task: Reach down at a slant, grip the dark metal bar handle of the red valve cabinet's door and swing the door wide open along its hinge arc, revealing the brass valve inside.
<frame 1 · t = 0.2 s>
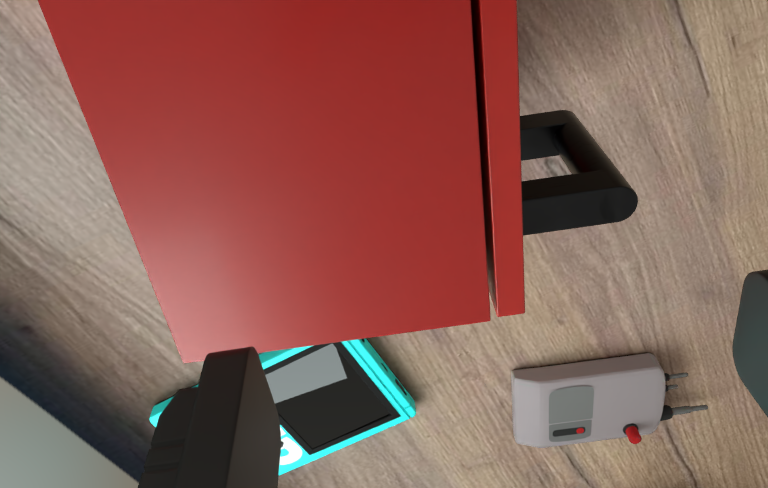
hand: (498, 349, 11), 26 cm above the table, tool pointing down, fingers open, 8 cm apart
valve door: (530, 30, 26), point 8 cm above the table, hinge at 0.0°
valve cabinet: (312, 14, 33), on the table
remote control: (594, 390, 48), on the table
handheld game console: (285, 401, 47), on the table
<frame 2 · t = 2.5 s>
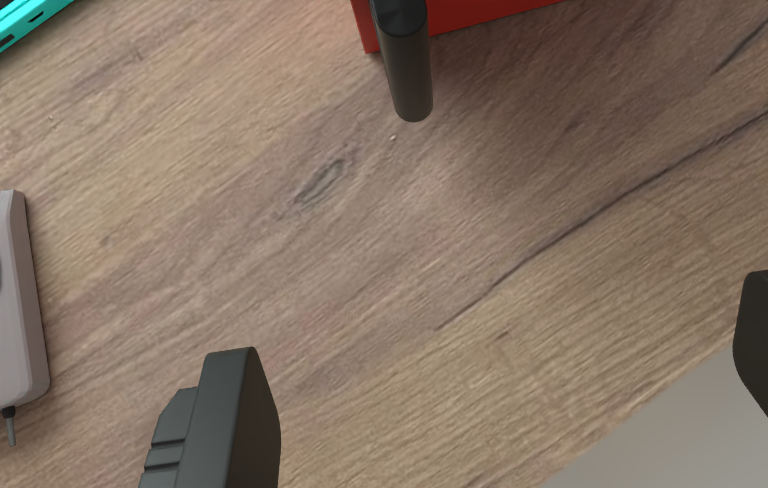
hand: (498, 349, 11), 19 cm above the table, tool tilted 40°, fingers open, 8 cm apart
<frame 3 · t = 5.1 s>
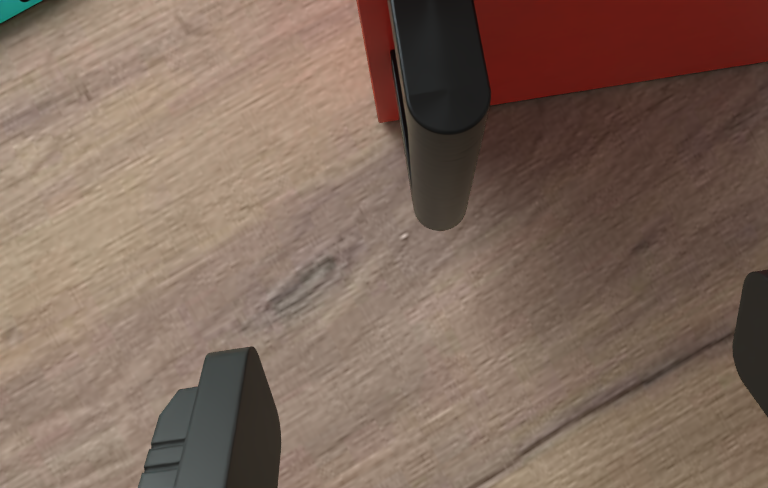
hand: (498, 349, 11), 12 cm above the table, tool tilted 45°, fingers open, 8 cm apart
valve door: (666, 36, 17), point 8 cm above the table, hinge at 0.0°
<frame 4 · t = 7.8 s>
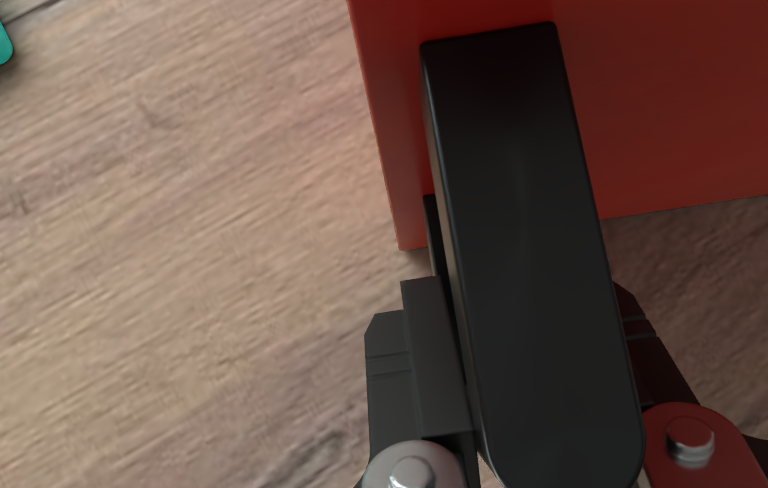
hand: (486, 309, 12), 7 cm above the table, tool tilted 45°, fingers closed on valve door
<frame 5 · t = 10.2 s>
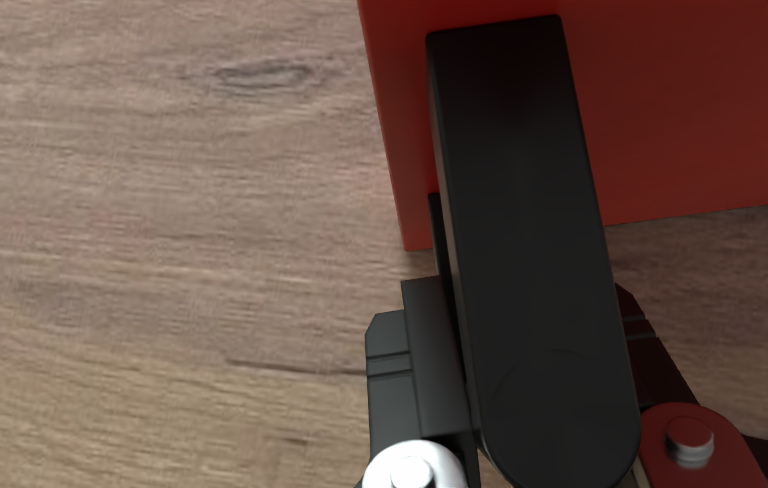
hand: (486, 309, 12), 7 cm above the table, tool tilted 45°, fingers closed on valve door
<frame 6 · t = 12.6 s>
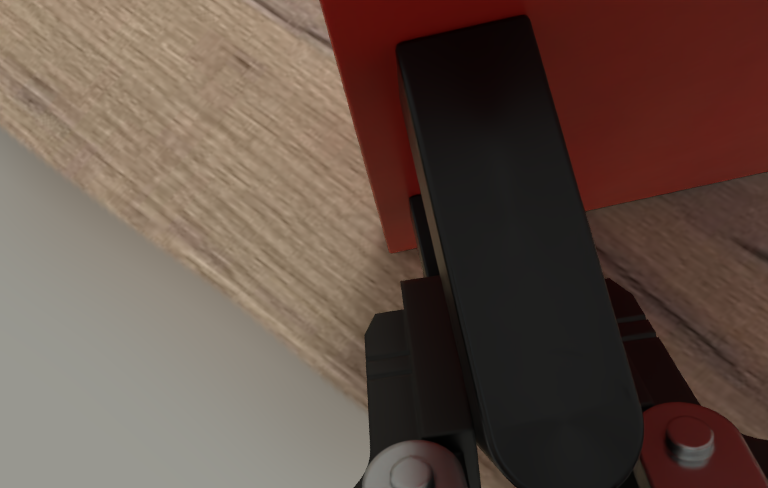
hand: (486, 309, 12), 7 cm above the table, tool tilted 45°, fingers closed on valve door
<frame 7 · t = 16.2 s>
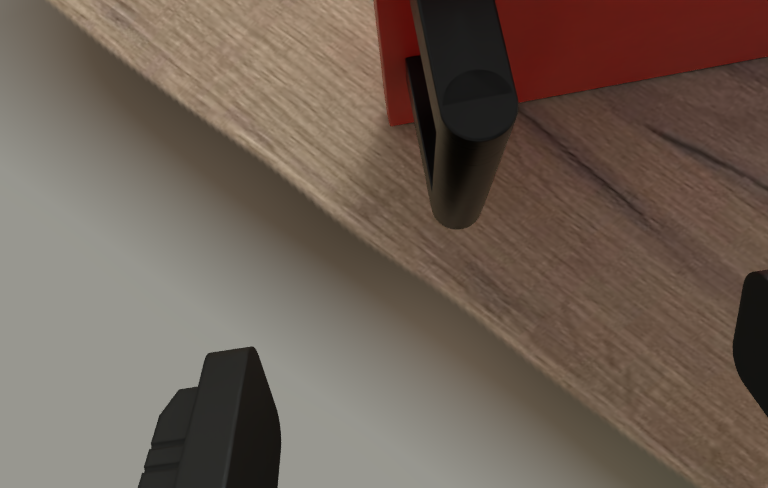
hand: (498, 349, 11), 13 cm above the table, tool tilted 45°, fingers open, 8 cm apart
valve door: (671, 40, 18), point 8 cm above the table, hinge at 70.1°
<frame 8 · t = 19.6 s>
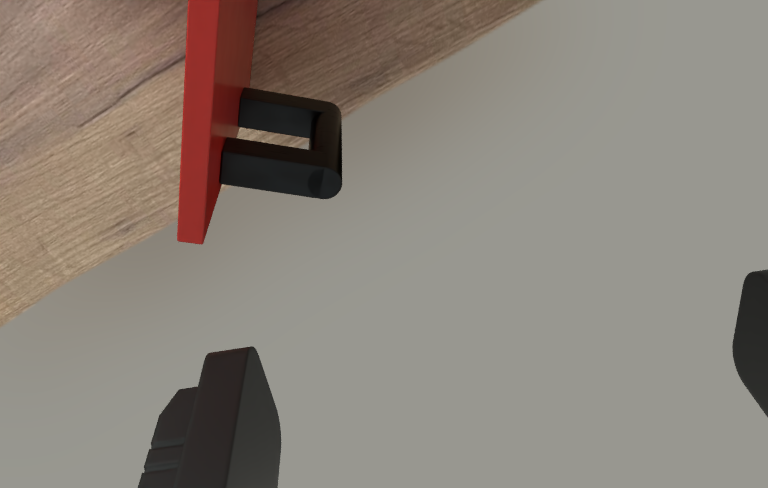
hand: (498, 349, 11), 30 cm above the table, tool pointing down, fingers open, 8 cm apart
valve door: (293, 13, 29), point 8 cm above the table, hinge at 70.1°
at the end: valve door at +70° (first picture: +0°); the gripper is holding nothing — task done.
